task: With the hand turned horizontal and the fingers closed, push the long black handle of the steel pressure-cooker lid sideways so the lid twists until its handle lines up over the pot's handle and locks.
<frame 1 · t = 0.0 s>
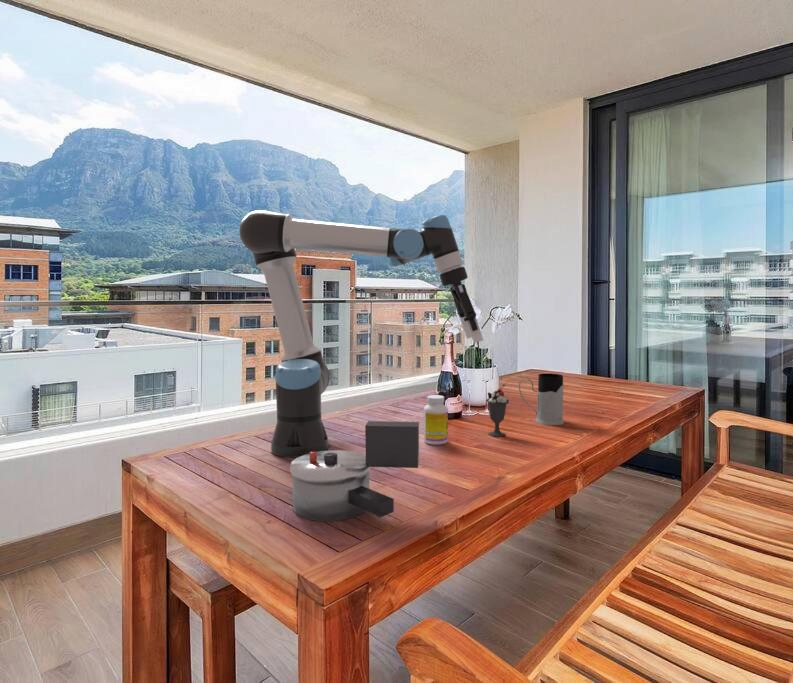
hand: (474, 339, 147), 28 cm above the table, tool tilted 20°, fingers open, 13 cm apart
sundae: (497, 435, 149), on the table
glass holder: (540, 421, 164), on the table
lid: (354, 446, 99), point 12 cm above the table, hinge at 40.0°
supplement bottle: (435, 442, 142), on the table
pot: (331, 504, 101), on the table
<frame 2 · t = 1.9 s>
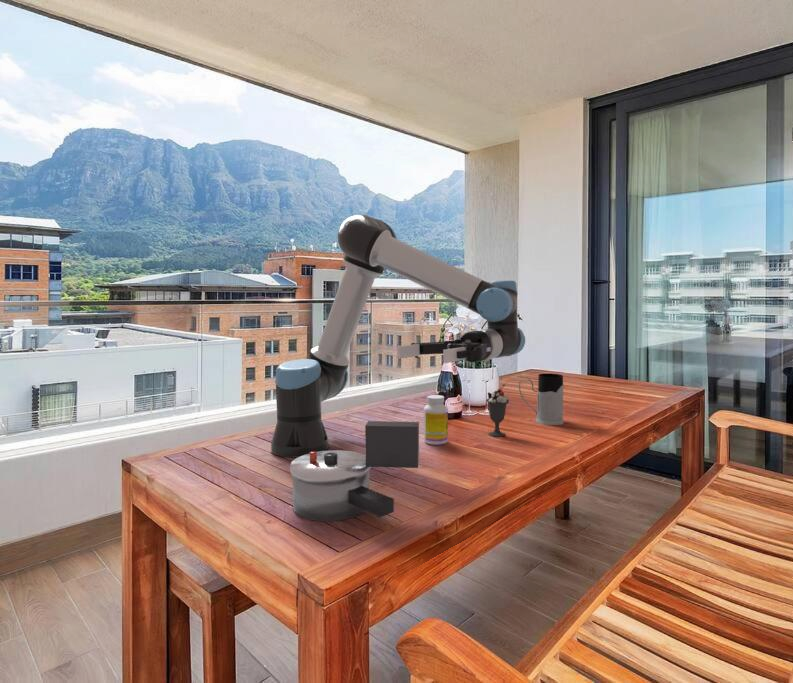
hand: (420, 354, 109), 28 cm above the table, tool horizontal, fingers open, 13 cm apart
nothing on the table moved.
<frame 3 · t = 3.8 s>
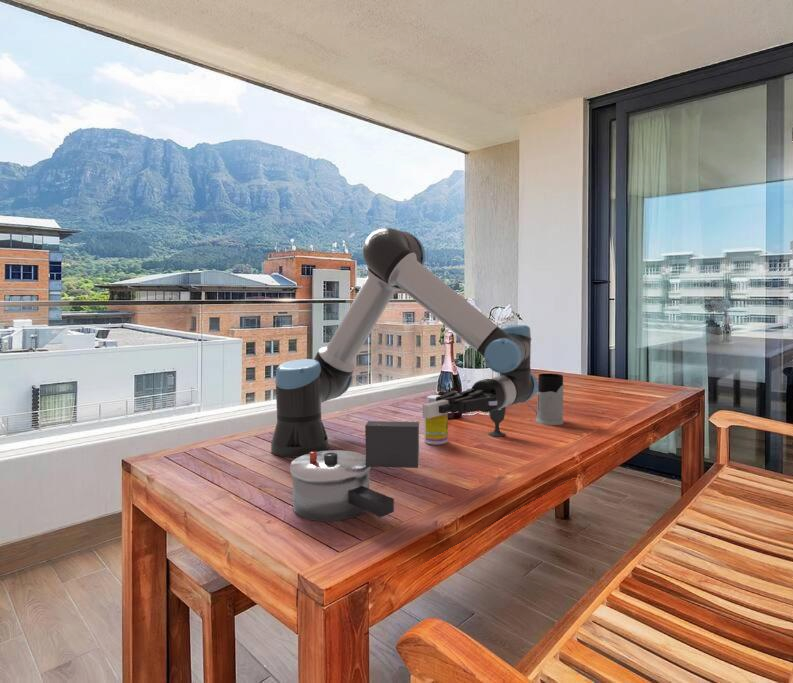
hand: (425, 411, 103), 17 cm above the table, tool horizontal, fingers closed
nothing on the table moved.
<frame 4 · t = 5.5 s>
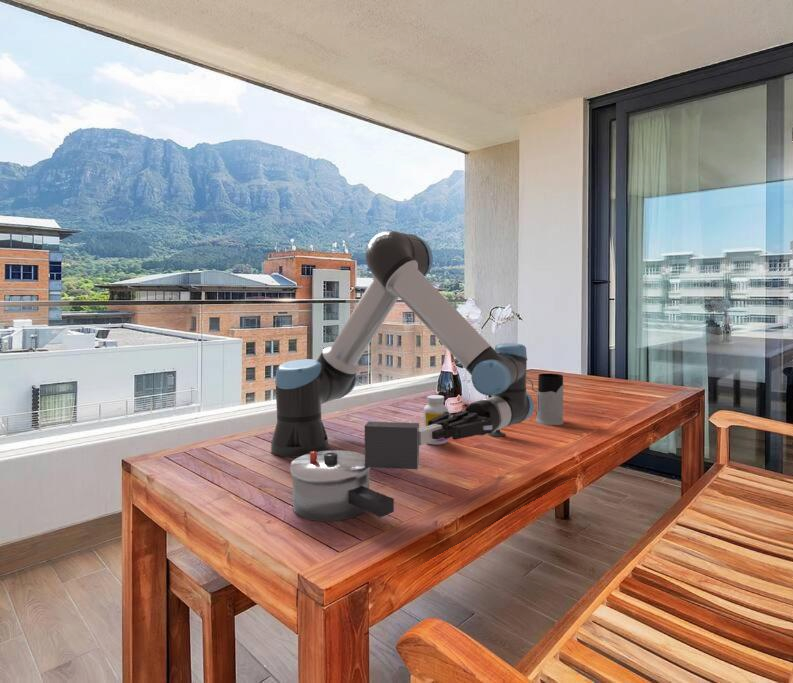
hand: (417, 437, 99), 13 cm above the table, tool horizontal, fingers closed
lid: (354, 446, 99), point 12 cm above the table, hinge at 37.3°, touching gripper
everything else where it was.
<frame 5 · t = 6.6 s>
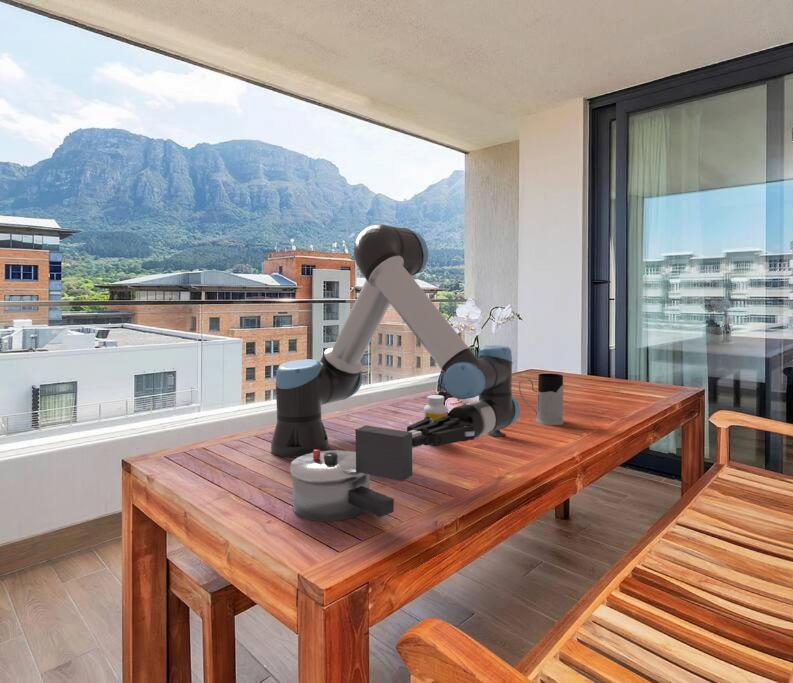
hand: (394, 444, 95), 13 cm above the table, tool horizontal, fingers closed
lid: (350, 449, 97), point 12 cm above the table, hinge at 15.4°, touching gripper
everything else where it was.
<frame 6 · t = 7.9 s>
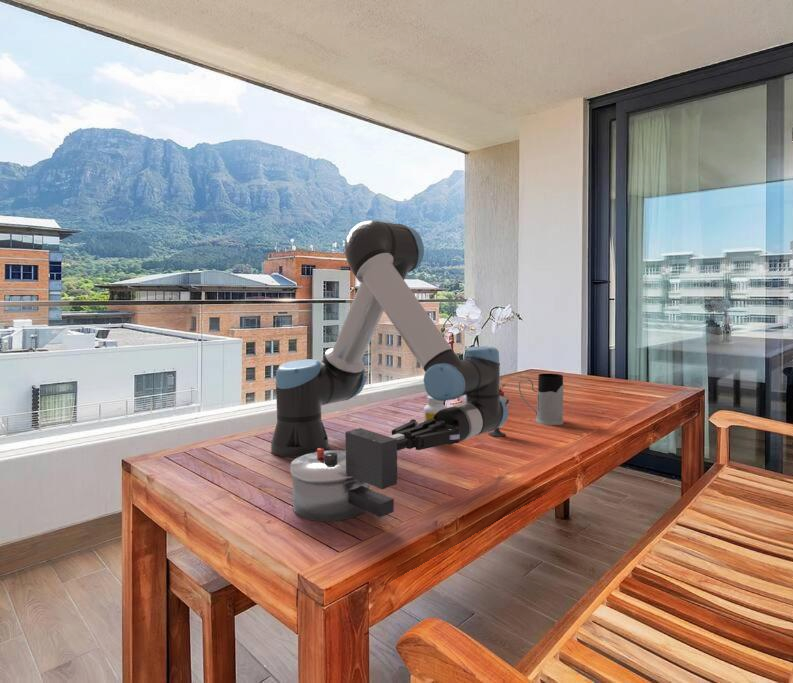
hand: (376, 448, 92), 13 cm above the table, tool horizontal, fingers closed
lid: (345, 451, 96), point 12 cm above the table, hinge at -1.5°, touching gripper
everything else where it was.
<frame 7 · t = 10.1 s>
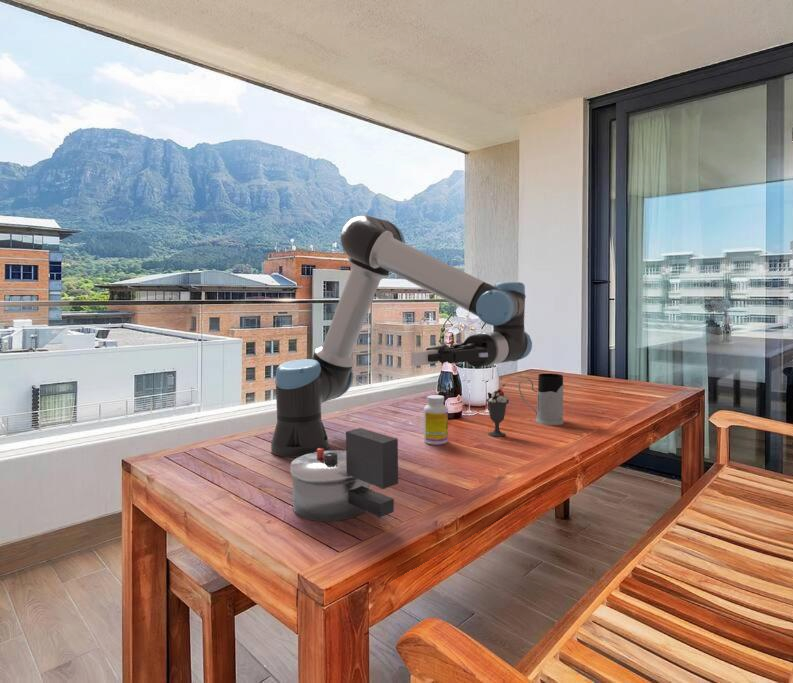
hand: (413, 359, 102), 28 cm above the table, tool horizontal, fingers closed
lid: (345, 451, 96), point 12 cm above the table, hinge at -0.8°
everything else where it was.
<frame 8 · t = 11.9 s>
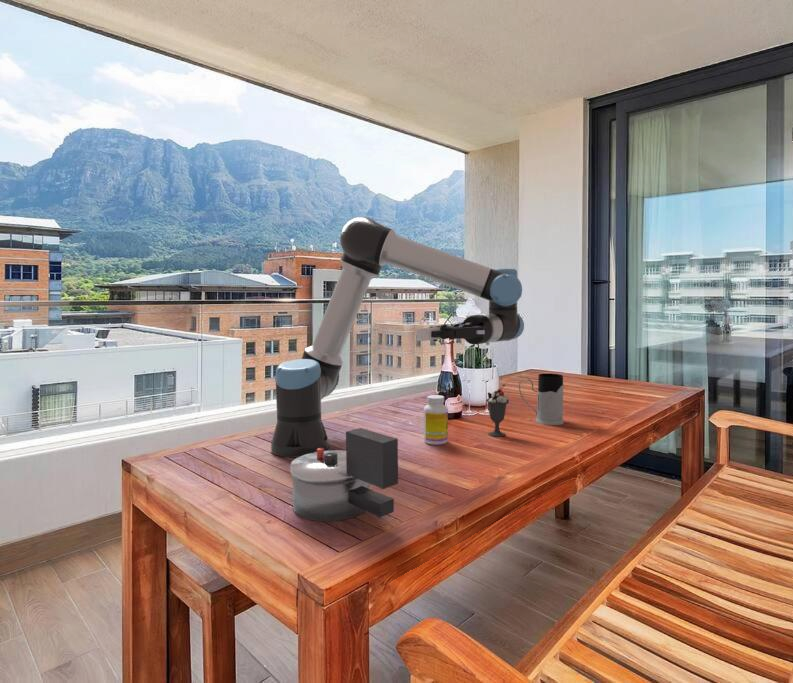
hand: (419, 334, 115), 32 cm above the table, tool horizontal, fingers closed
nothing on the table moved.
at the end: lid at -1° (first picture: +40°) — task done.
